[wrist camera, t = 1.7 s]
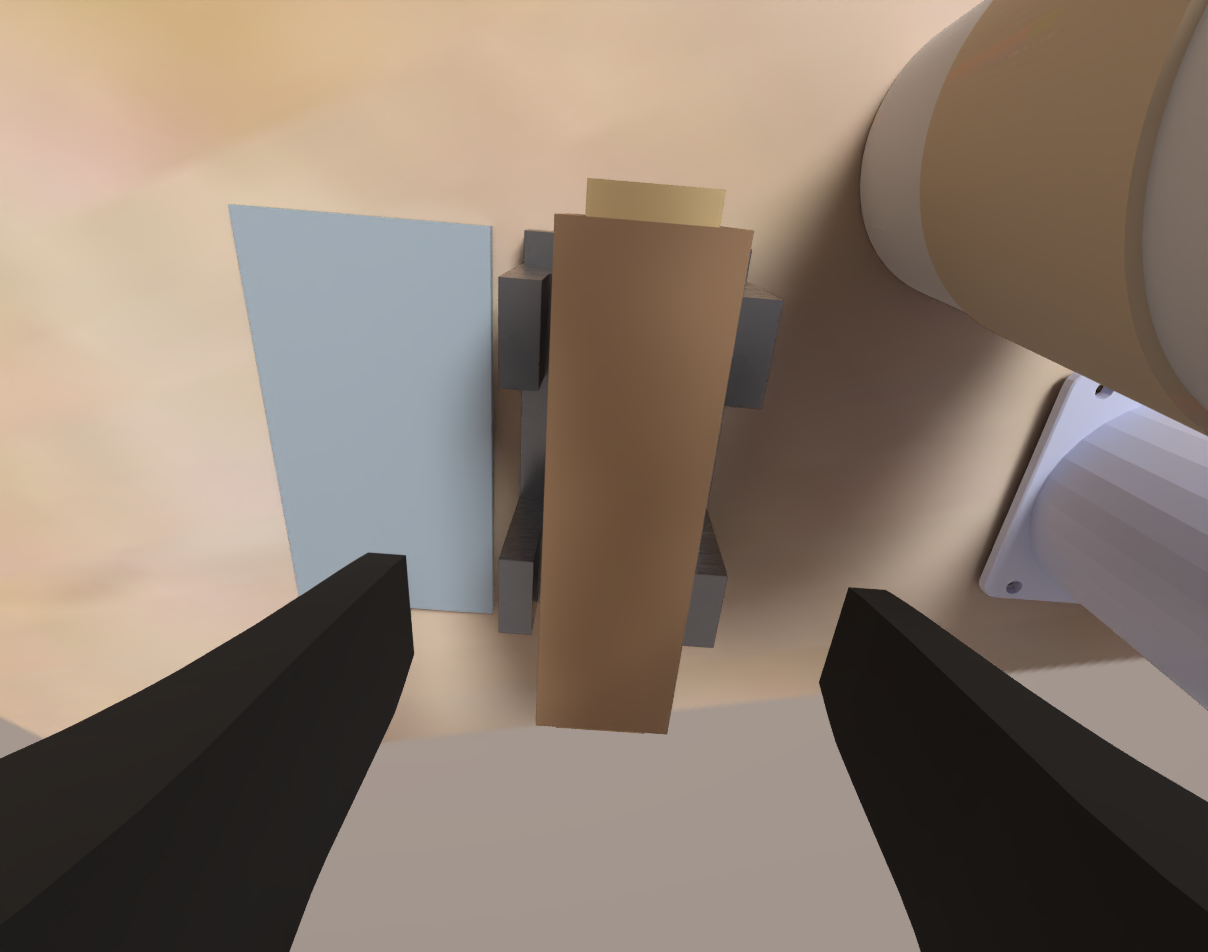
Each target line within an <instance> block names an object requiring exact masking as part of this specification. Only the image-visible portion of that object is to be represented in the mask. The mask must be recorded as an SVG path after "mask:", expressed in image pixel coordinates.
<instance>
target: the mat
mask: <svg viewBox="0 0 1208 952" xmlns="http://www.w3.org/2000/svg"><path fill="white" fill-rule="evenodd" d="M228 207H229V213H230V218H231V224H232V229H233V235H234V240H235V246H236V251H237V257H238V262H239V268H240V273H241V279H242V285H243V290H244V296H245V301H246V307H247V312H248V318H249V323H250V329H251V334H252V340H253V345H254V351H255V356H256V362H257V367H258V373H259V378H260V384H261V389H262V395H263V400H264V406H265V411H266V417H267V422H268V428H269V433H270V439H271V444H272V450H273V455H274V461H275V467H276V472H277V478H278V483H279V489H280V494H281V500H282V505H283V511H284V516H285V522H286V527H287V533H288V538H289V544H290V549H291V555H292V560H293V566H294V571H295V577H296V582H297V588H298V593H299V596H301V595H302V594H304V593H305V592H307V591H308V590H310V589H311V588H313V587H314V586H316V585H317V584H319V583H320V582H322V581H324V580H325V579H327V578H328V577H330V576H331V575H333V574H334V573H336V572H337V571H339V570H340V569H342V568H343V567H345V566H346V565H348V564H350V563H351V562H353V561H354V560H356V559H358V558H359V557H361V556H363V555H364V554H366V553H368V552H370V553H384V554H398V555H406V561H407V573H408V585H409V598H410V608H416V609H430V610H444V611H457V612H471V613H485V614H493V611H494V474H493V276H492V226H482V225H470V224H458V223H446V222H434V221H423V220H411V219H399V218H387V217H375V216H363V215H351V214H340V213H328V212H316V211H304V210H292V209H280V208H268V207H256V206H245V205H228Z"/></svg>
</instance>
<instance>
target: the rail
mask: <svg viewBox="0 0 1208 952" xmlns="http://www.w3.org/2000/svg"><path fill="white" fill-rule="evenodd" d="M724 197H725V190H720V189H709V188H697V187H686V186H674V185H662V184H651V183H639V182H627V181H616V180H604V179H593V178H588V179H587V197H586V214H585V215H580V214H555V215H554V242H553V269H552V296H551V323H550V350H549V378H548V405H547V432H546V459H545V486H544V513H543V540H542V568H541V595H540V622H539V649H538V676H537V703H536V725H539V726H554V727H557V728H572V729H586V730H600V731H616V732H630V733H656V734H667V732H668V725H669V719H670V714H671V709H672V703H673V697H674V691H675V685H676V680H677V674H678V668H679V662H680V656H681V651H682V645H683V639H684V633H685V627H686V622H687V616H688V610H689V604H690V599H691V593H692V587H693V581H694V575H695V570H696V564H697V558H698V552H699V546H700V541H701V535H702V529H703V523H704V518H705V512H706V506H707V500H708V494H709V489H710V483H711V477H712V471H713V465H714V460H715V454H716V448H717V442H718V437H719V431H720V425H721V419H722V413H723V408H724V402H725V396H726V390H727V384H728V379H729V373H730V367H731V361H732V355H733V350H734V344H735V338H736V332H737V327H738V321H739V315H740V309H741V303H742V298H743V292H744V286H745V280H746V274H747V269H748V263H749V257H750V251H751V246H752V240H753V234H754V231H752V230H745V229H737V228H729V227H721V226H720V224H721V217H722V210H723V204H724Z"/></svg>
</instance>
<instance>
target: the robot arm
mask: <svg viewBox="0 0 1208 952" xmlns="http://www.w3.org/2000/svg"><path fill="white" fill-rule="evenodd" d="M1099 385H1101V384H1099V383H1097V382H1095V381H1093V380H1090V379H1088V378H1086V377H1084V376H1082V375H1080V374H1078V373H1076V372H1074V373H1072V374H1071V375H1070V376H1069V377H1068V378H1067V379H1066V380H1065V382H1064V383H1063V385H1062V388H1061V390H1060V392H1059V395H1058V397H1057V399H1056V402H1055V404H1054V406H1053V409H1052V411H1051V413H1050V416H1049V418H1048V420H1047V423H1046V425H1045V427H1044V430H1043V432H1042V434H1041V437H1040V439H1039V441H1038V444H1037V446H1036V448H1035V451H1034V453H1033V455H1032V458H1031V460H1030V462H1029V465H1028V467H1027V470H1026V472H1025V474H1024V477H1023V479H1022V481H1021V484H1020V486H1019V488H1018V491H1017V493H1016V495H1015V498H1014V500H1013V502H1012V505H1011V507H1010V509H1009V512H1008V514H1007V516H1006V519H1005V521H1004V523H1003V526H1002V528H1001V530H1000V533H999V535H998V537H997V540H996V542H995V544H994V547H993V549H992V551H991V554H990V556H989V558H988V561H987V563H986V566H985V568H984V570H983V573H982V575H981V577H980V580H979V586H980V588H981V589H982V590H983V591H984V593H986V594H987V595H988V596H990V597H995V598H1009V599H1022V600H1036V601H1049V602H1063V603H1076V604H1081V605H1082V606H1083V607H1085V608H1086V609H1087V610H1088V611H1089V612H1091V613H1092V614H1093V615H1094V616H1095V617H1097V618H1098V619H1099V620H1100V621H1101V622H1103V623H1104V624H1105V625H1106V626H1107V627H1109V628H1110V629H1111V630H1112V631H1113V632H1114V633H1116V634H1117V635H1118V636H1119V637H1120V638H1122V639H1123V640H1124V641H1125V642H1126V643H1128V644H1129V645H1130V646H1131V647H1132V648H1134V649H1135V650H1136V651H1137V652H1138V653H1140V654H1141V655H1142V656H1143V657H1144V658H1145V659H1147V660H1148V661H1149V662H1150V663H1151V664H1153V665H1154V666H1155V667H1156V668H1157V669H1159V670H1160V671H1161V672H1162V673H1163V674H1165V675H1166V676H1167V677H1168V678H1169V679H1171V680H1172V681H1173V682H1174V683H1175V684H1176V685H1178V686H1179V687H1180V688H1181V689H1182V690H1184V691H1185V692H1186V693H1187V694H1188V695H1190V696H1191V697H1192V698H1193V699H1194V700H1196V701H1197V702H1198V703H1199V704H1201V705H1202V706H1203V707H1204V708H1205V709H1206V710H1208V436H1206V435H1204V434H1202V433H1200V432H1198V431H1196V430H1194V429H1192V428H1189V427H1187V426H1185V425H1183V424H1181V423H1179V422H1177V421H1175V420H1173V419H1171V418H1169V417H1167V416H1165V415H1163V414H1161V413H1159V412H1156V411H1154V410H1152V409H1150V408H1148V407H1146V406H1144V405H1142V404H1140V403H1138V402H1136V401H1134V400H1132V399H1130V398H1128V397H1126V396H1123V395H1121V394H1119V393H1117V392H1115V391H1113V390H1111V389H1109V388H1107V387H1105V386H1104V387H1103V389H1102V390H1101V391H1100V392H1099V393H1097V394H1096V395H1095V392H1096V389H1097V388H1098V386H1099ZM1013 581H1014V582H1013ZM1011 582H1013V584H1012V585H1010V586H1008V584H1009V583H1011ZM1007 586H1008V587H1007ZM413 656H414V647H413V634H412V622H411V610H410V598H409V585H408V573H407V561H406V555H398V554H384V553H370V552H368V553H366V554H364V555H363V556H361V557H359V558H358V559H356V560H354V561H353V562H351V563H350V564H348V565H346V566H345V567H343V568H342V569H340V570H339V571H337V572H336V573H334V574H333V575H331V576H330V577H328V578H327V579H325V580H324V581H322V582H320V583H319V584H317V585H316V586H314V587H313V588H311V589H310V590H308V591H307V592H305V593H304V594H302V595H301V596H299V597H298V598H296V599H295V600H293V601H291V602H290V603H288V604H287V605H285V606H284V607H282V608H281V609H279V610H277V611H276V612H274V613H273V614H271V615H270V616H268V617H267V618H265V619H264V620H262V621H260V622H259V623H257V624H256V625H254V626H252V627H251V628H249V629H247V630H246V631H244V632H242V633H241V634H239V635H237V636H236V637H234V638H232V639H231V640H229V641H227V642H226V643H224V644H222V645H220V646H219V647H217V648H215V649H214V650H212V651H210V652H209V653H207V654H205V655H204V656H202V657H200V658H199V659H197V660H195V661H193V662H192V663H190V664H188V665H187V666H185V667H183V668H182V669H180V670H178V671H176V672H175V673H173V674H171V675H169V676H167V677H166V678H164V679H162V680H160V681H158V682H156V683H155V684H153V685H151V686H149V687H147V688H145V689H143V690H142V691H140V692H138V693H136V694H134V695H132V696H130V697H128V698H126V699H124V700H122V701H120V702H118V703H116V704H114V705H112V706H110V707H108V708H106V709H104V710H103V711H101V712H99V713H97V714H95V715H93V716H91V717H89V718H87V719H85V720H83V721H81V722H79V723H77V724H75V725H73V726H70V727H68V728H66V729H64V730H62V731H60V732H58V733H56V734H54V735H52V736H49V737H47V738H45V739H43V740H40V741H38V742H36V743H34V744H31V745H29V746H27V747H25V748H23V749H21V750H18V751H16V752H14V753H11V754H9V755H7V756H5V757H3V758H0V952H289V951H290V948H291V946H292V943H293V940H294V938H295V935H296V932H297V930H298V927H299V924H300V922H301V919H302V916H303V914H304V911H305V908H306V906H307V903H308V900H309V898H310V895H311V892H312V890H313V888H314V886H315V883H316V881H317V879H318V876H319V874H320V872H321V869H322V867H323V865H324V862H325V860H326V858H327V855H328V853H329V851H330V849H331V847H332V845H333V843H334V841H335V839H336V837H337V834H338V832H339V830H340V828H341V826H342V824H343V822H344V820H345V817H346V815H347V813H348V811H349V809H350V807H351V805H352V803H353V801H354V799H355V796H356V794H357V792H358V790H359V788H360V786H361V784H362V782H363V780H364V778H365V776H366V773H367V771H368V769H369V767H370V765H371V763H372V761H373V759H374V756H375V754H376V752H377V750H378V748H379V746H380V744H381V742H382V739H383V737H384V735H385V733H386V731H387V729H388V726H389V724H390V722H391V720H392V718H393V715H394V713H395V711H396V708H397V705H398V702H399V699H400V696H401V693H402V690H403V687H404V684H405V681H406V678H407V675H408V672H409V669H410V665H411V662H412V659H413ZM819 684H820V688H821V692H822V695H823V699H824V703H825V707H826V711H827V714H828V718H829V721H830V725H831V728H832V731H833V735H834V738H835V741H836V744H837V747H838V749H839V752H840V754H841V756H842V759H843V761H844V764H845V766H846V769H847V771H848V773H849V775H850V778H851V781H852V783H853V785H854V788H855V790H856V792H857V795H858V797H859V800H860V802H861V804H862V807H863V809H864V811H865V814H866V816H867V818H868V821H869V823H870V825H871V828H872V830H873V832H874V835H875V837H876V839H877V842H878V844H879V846H880V849H881V851H882V853H883V856H884V858H885V860H886V863H887V865H888V867H889V870H890V872H891V874H892V877H893V879H894V881H895V884H896V886H897V888H898V891H899V893H900V896H901V898H902V901H903V904H904V906H905V909H906V911H907V914H908V916H909V919H910V921H911V924H912V927H913V930H914V932H915V935H916V938H917V941H918V944H919V948H920V951H921V952H1208V802H1207V801H1205V800H1203V799H1202V798H1200V797H1198V796H1196V795H1195V794H1193V793H1192V792H1190V791H1188V790H1186V789H1185V788H1183V787H1181V786H1180V785H1178V784H1176V783H1174V782H1173V781H1171V780H1169V779H1168V778H1166V777H1164V776H1162V775H1161V774H1159V773H1158V772H1156V771H1154V770H1152V769H1150V768H1149V767H1147V766H1146V765H1144V764H1142V763H1141V762H1139V761H1137V760H1136V759H1134V758H1133V757H1131V756H1129V755H1128V754H1126V753H1124V752H1123V751H1121V750H1120V749H1118V748H1116V747H1115V746H1113V745H1112V744H1110V743H1108V742H1107V741H1105V740H1104V739H1102V738H1101V737H1099V736H1098V735H1096V734H1095V733H1093V732H1092V731H1090V730H1089V729H1087V728H1085V727H1084V726H1082V725H1081V724H1079V723H1078V722H1076V721H1075V720H1073V719H1071V718H1070V717H1069V716H1067V715H1066V714H1064V713H1062V712H1061V711H1060V710H1058V709H1056V708H1055V707H1053V706H1052V705H1050V704H1049V703H1048V702H1046V701H1045V700H1043V699H1042V698H1040V697H1039V696H1037V695H1036V694H1034V693H1033V692H1031V691H1030V690H1028V689H1027V688H1026V687H1024V686H1023V685H1021V684H1020V683H1018V682H1017V681H1016V680H1014V679H1013V678H1011V677H1010V676H1008V675H1007V674H1006V673H1004V672H1003V671H1001V670H1000V669H999V668H997V667H996V666H994V665H993V664H992V663H990V662H989V661H987V660H986V659H985V658H983V657H982V656H980V655H979V654H978V653H976V652H975V651H973V650H972V649H971V648H969V647H968V646H966V645H965V644H964V643H962V642H961V641H959V640H958V639H957V638H955V637H954V636H953V635H951V634H950V633H948V632H947V631H946V630H944V629H943V628H941V627H940V626H939V625H937V624H936V623H934V622H933V621H932V620H930V619H929V618H927V617H926V616H925V615H923V614H922V613H920V612H919V611H917V610H916V609H915V608H913V607H912V606H910V605H909V604H907V603H906V602H904V601H903V600H901V599H900V598H898V597H896V596H895V595H893V594H891V593H890V592H888V591H886V590H878V589H864V588H850V587H849V588H848V591H847V594H846V598H845V601H844V604H843V607H842V610H841V614H840V617H839V620H838V623H837V626H836V630H835V633H834V636H833V639H832V642H831V646H830V649H829V652H828V655H827V658H826V662H825V665H824V668H823V671H822V674H821V677H820V681H819Z"/></svg>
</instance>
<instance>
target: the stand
mask: <svg viewBox="0 0 1208 952" xmlns="http://www.w3.org/2000/svg"><path fill="white" fill-rule="evenodd" d="M553 242H554V232H553V231H541V230H529V229H528V230H525V232H524V263H523V264H521V265H519V266H517V267H515V268H513V269H512V270H510V271H508V272H506V273H504V274H503V275H501V276H499V277H498V332H499V388H501V389H513V390H522V410H521V469H520V497H519V500H518V503H517V506H516V509H515V512H514V515H513V518H512V521H511V524H510V527H509V530H508V533H507V536H506V539H505V542H504V545H503V548H502V551H501V554H500V557H499V633H513V634H527V635H531V633H532V628H533V623H534V618H535V613H536V607H537V602H538V601H540V595H541V568H542V540H543V513H544V486H545V459H546V432H547V405H548V378H549V350H550V323H551V296H552V269H553ZM751 253H752V249H751V251H750V257H749V263H748V269H747V274H746V280H745V286H744V292H743V298H742V303H741V309H740V315H739V321H738V327H737V332H736V338H735V344H734V350H733V355H732V361H731V367H730V373H729V379H728V384H727V390H726V396H725V402H724V408H725V406H728V407H740V408H753V409H762V405H763V400H764V395H765V390H766V385H767V380H768V375H769V370H770V365H771V360H772V355H773V350H774V346H775V341H776V336H777V331H778V326H779V321H780V316H781V311H782V306H783V301H784V300H782V299H780V298H778V297H776V296H774V295H772V294H770V293H768V292H766V291H764V290H763V289H761V288H759V287H757V286H755V285H753V284H751V283H749V282H747V276H748V270H749V264H750V258H751ZM724 408H723V413H722V419H721V425H722V420H723V414H724ZM721 425H720V431H721ZM720 431H719V437H720ZM719 437H718V442H717V448H718V443H719ZM717 448H716V454H717ZM716 454H715V460H716ZM715 460H714V465H713V471H712V477H713V472H714V466H715ZM712 477H711V483H712ZM711 483H710V489H711ZM710 489H709V494H708V500H709V495H710ZM708 500H707V506H708ZM707 506H706V512H705V518H704V523H703V529H702V535H701V541H700V546H699V552H698V558H697V564H696V570H695V575H694V581H693V587H692V593H691V599H690V604H689V610H688V616H687V622H686V627H685V633H684V639H683V645H682V646H694V647H708V648H713V647H714V642H715V637H716V632H717V627H718V622H719V617H720V612H721V607H722V602H723V597H724V593H725V588H726V583H727V578H728V576H727V573H726V570H725V566H724V563H723V560H722V557H721V553H720V550H719V547H718V544H717V541H716V537H715V534H714V531H713V528H712V525H711V521H710V518H709V515H708V512H707Z"/></svg>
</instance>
